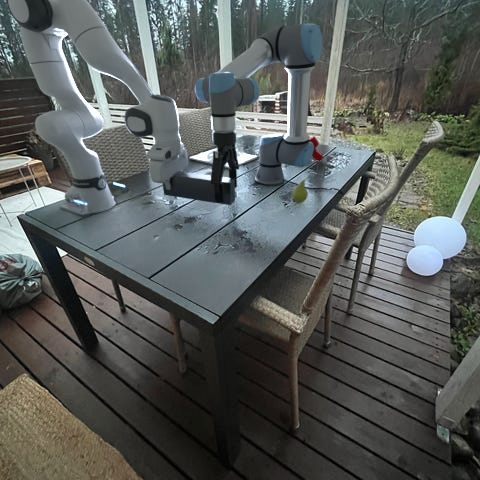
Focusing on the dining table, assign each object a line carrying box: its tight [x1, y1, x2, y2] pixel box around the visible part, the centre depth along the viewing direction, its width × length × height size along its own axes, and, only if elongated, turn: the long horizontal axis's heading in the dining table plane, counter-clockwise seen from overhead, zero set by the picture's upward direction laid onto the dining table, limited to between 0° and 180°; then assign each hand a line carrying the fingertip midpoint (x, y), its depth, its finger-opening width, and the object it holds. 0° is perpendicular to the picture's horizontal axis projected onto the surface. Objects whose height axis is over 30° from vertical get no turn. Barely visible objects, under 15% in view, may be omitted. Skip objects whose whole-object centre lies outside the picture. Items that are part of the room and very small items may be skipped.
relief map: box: [189, 147, 258, 169], centre depth 177 cm, size 27×35×5 cm
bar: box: [162, 170, 236, 206], centre depth 98 cm, size 26×5×8 cm, turn 72°
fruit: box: [291, 174, 311, 204], centre depth 118 cm, size 7×8×12 cm
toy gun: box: [309, 135, 324, 163], centre depth 171 cm, size 18×4×15 cm
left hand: (173, 186), depth 101 cm, fingers closed on bar, 4 cm apart
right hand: (226, 194), depth 96 cm, fingers open, 13 cm apart
